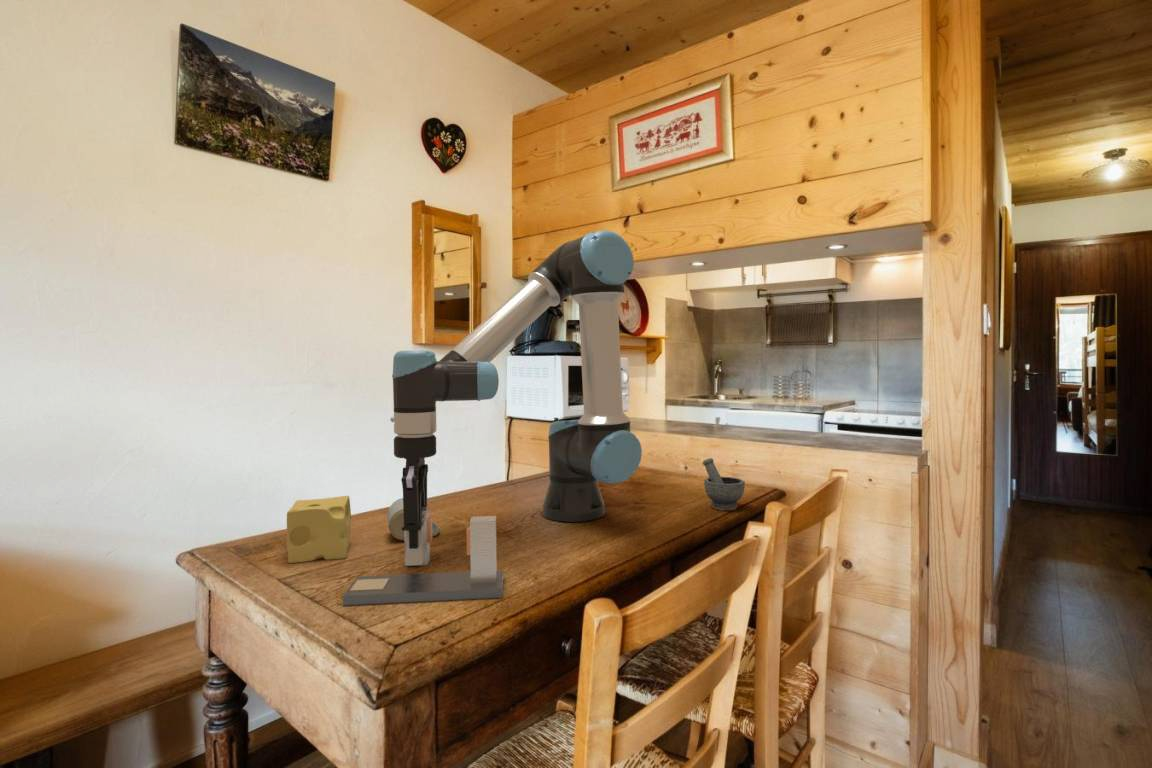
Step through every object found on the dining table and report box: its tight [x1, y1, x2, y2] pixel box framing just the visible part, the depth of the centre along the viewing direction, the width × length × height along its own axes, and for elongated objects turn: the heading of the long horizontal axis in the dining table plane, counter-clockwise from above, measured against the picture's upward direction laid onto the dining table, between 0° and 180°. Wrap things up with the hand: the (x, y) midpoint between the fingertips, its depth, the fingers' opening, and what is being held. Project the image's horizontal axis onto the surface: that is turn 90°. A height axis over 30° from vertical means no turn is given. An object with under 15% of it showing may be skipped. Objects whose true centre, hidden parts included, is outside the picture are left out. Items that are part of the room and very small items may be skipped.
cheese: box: [286, 495, 352, 564], centre depth 111 cm, size 10×11×10 cm
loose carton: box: [403, 506, 434, 567], centre depth 105 cm, size 5×3×10 cm, turn 96°
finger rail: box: [342, 515, 504, 607], centre depth 91 cm, size 24×8×12 cm, turn 96°
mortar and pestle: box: [702, 458, 746, 511], centre depth 144 cm, size 11×9×12 cm
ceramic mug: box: [387, 497, 441, 542], centre depth 121 cm, size 11×8×8 cm
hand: (416, 560), depth 105 cm, fingers closed on loose carton, 3 cm apart
